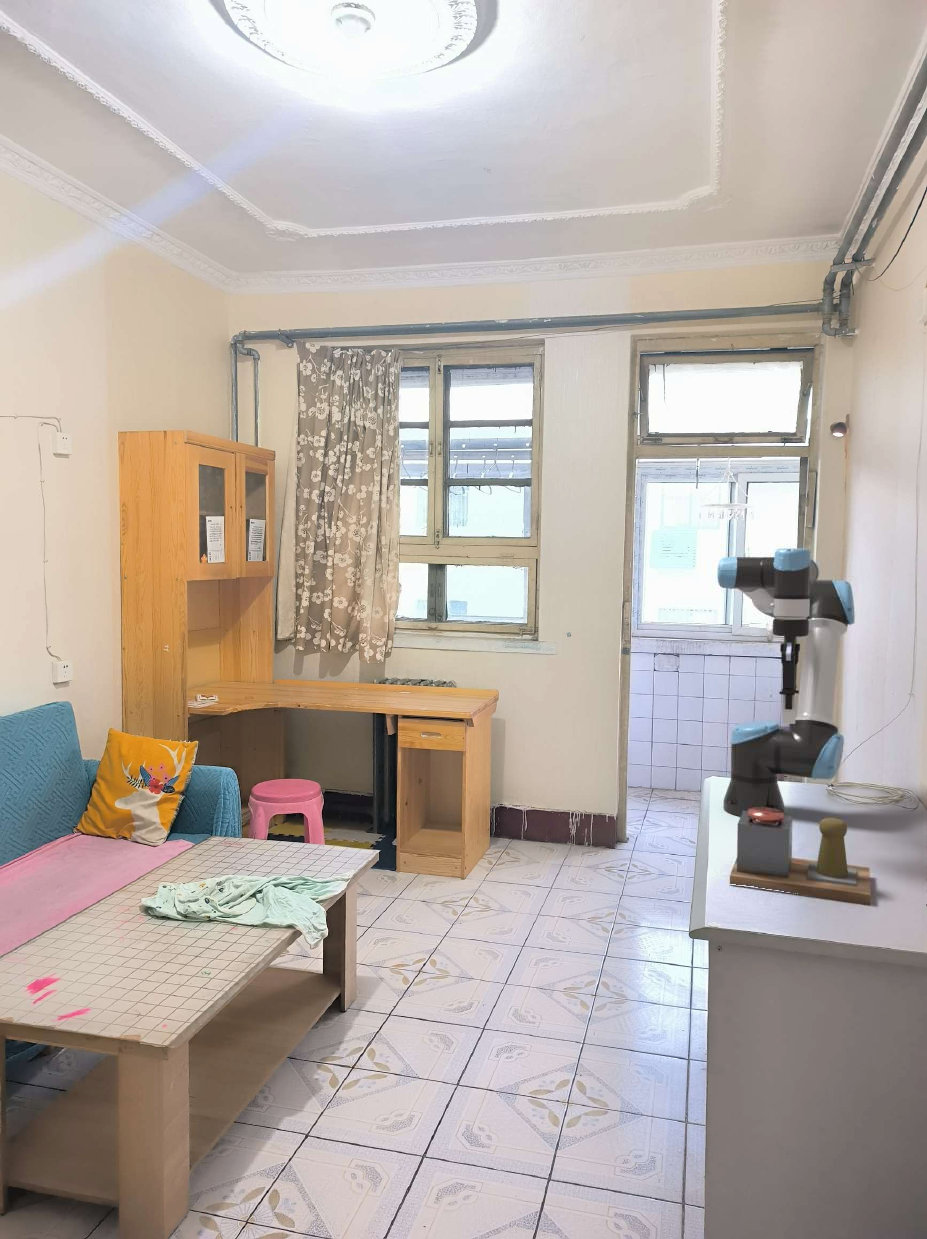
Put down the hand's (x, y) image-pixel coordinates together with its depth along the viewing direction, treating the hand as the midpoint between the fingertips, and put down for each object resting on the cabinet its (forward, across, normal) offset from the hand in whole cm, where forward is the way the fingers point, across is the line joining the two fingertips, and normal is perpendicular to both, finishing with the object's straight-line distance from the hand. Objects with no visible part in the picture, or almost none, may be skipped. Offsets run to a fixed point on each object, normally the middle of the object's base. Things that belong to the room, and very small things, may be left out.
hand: (788, 722), depth 197 cm
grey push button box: (+27, +18, -3) cm, 33 cm away
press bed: (+29, +18, +4) cm, 35 cm away
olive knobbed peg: (+27, +18, +10) cm, 34 cm away
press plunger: (+25, +18, -3) cm, 31 cm away
